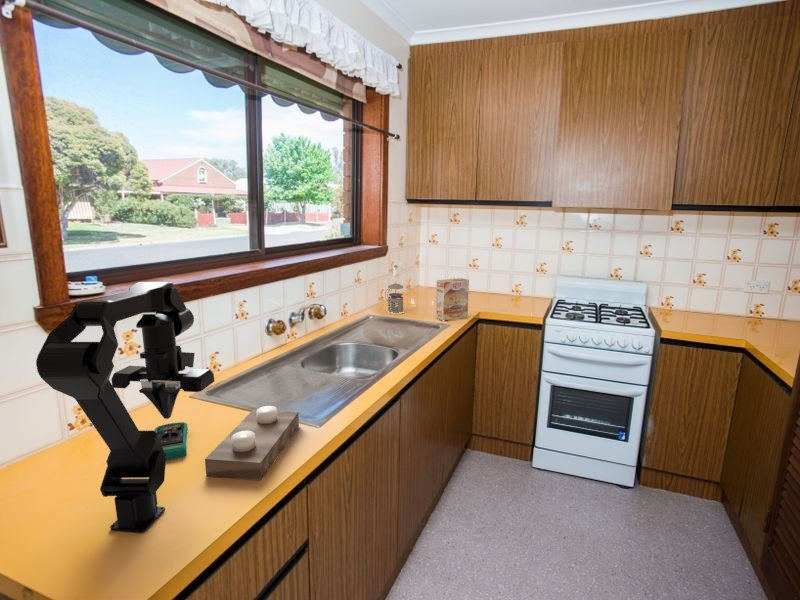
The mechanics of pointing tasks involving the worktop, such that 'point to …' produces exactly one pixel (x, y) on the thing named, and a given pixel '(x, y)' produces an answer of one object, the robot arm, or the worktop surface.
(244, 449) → the near knob
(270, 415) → the far knob
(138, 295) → the robot arm
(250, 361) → the worktop surface
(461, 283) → the coffeecake box
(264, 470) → the brown wooden board
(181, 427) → the digital multimeter
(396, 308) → the french press
